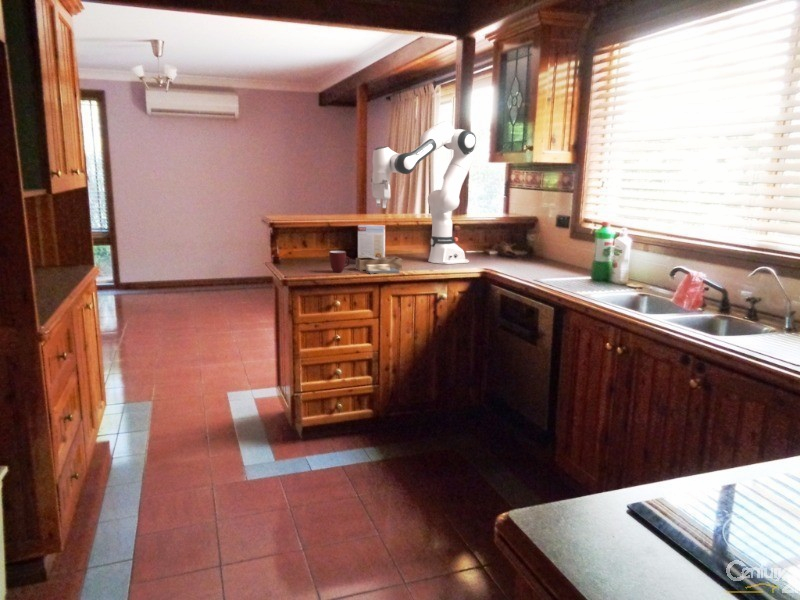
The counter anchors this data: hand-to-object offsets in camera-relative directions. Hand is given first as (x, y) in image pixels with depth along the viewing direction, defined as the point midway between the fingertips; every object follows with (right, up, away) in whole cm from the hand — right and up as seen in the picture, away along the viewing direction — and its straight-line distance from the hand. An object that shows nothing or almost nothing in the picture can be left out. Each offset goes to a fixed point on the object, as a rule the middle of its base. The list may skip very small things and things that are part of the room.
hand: (381, 207), depth 312 cm
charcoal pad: (+1, -33, -10) cm, 35 cm away
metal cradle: (-1, -27, -2) cm, 27 cm away
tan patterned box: (-1, -31, -1) cm, 31 cm away
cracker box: (-6, -28, +15) cm, 33 cm away
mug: (-20, -34, -11) cm, 40 cm away
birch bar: (-1, -32, -11) cm, 34 cm away
